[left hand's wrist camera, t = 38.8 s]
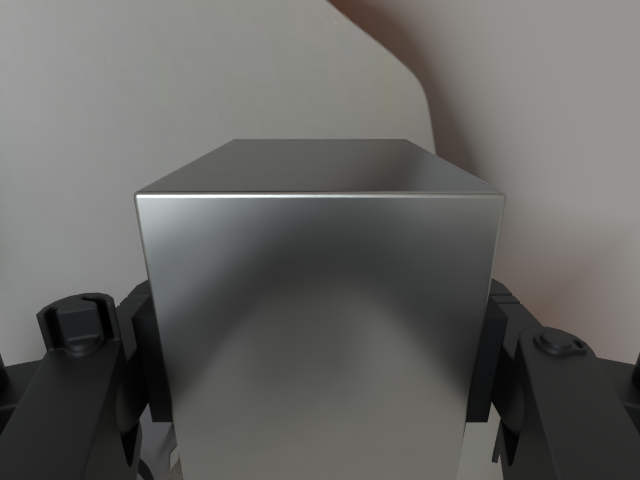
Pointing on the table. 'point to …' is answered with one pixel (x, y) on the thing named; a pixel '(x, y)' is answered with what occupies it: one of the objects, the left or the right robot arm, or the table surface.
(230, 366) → the grey metal block
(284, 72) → the table surface
